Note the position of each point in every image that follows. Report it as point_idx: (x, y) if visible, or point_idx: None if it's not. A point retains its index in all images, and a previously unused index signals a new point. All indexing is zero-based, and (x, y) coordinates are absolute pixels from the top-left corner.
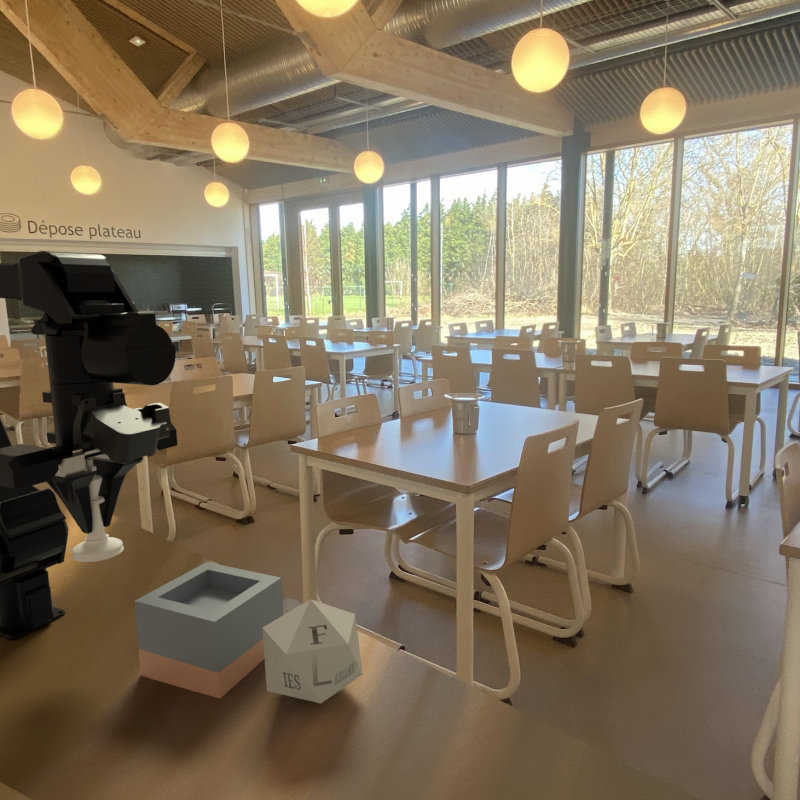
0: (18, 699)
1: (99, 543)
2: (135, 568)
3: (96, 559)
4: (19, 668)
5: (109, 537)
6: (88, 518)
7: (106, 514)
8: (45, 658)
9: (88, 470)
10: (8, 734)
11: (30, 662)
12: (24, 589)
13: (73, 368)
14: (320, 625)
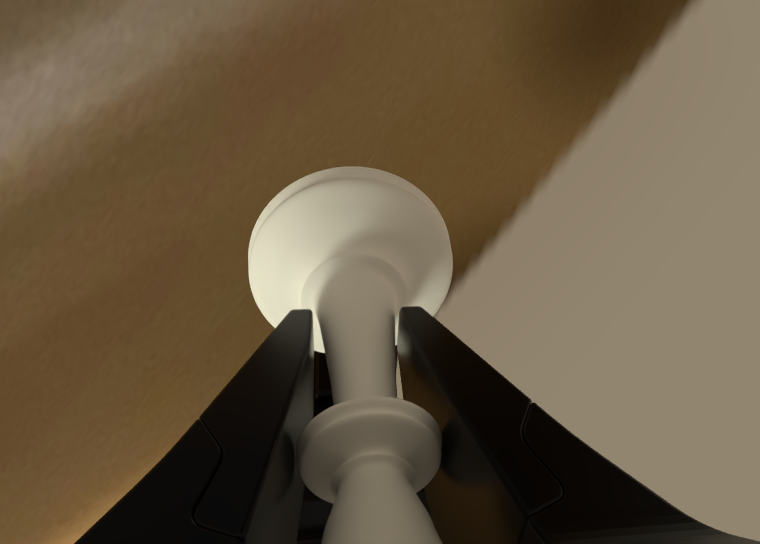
0: (560, 135)
1: (377, 254)
2: (61, 390)
3: (423, 196)
4: (476, 233)
5: (284, 292)
6: (448, 345)
7: (310, 347)
8: None
9: None
10: (660, 39)
11: (453, 234)
12: None
13: None
14: None
